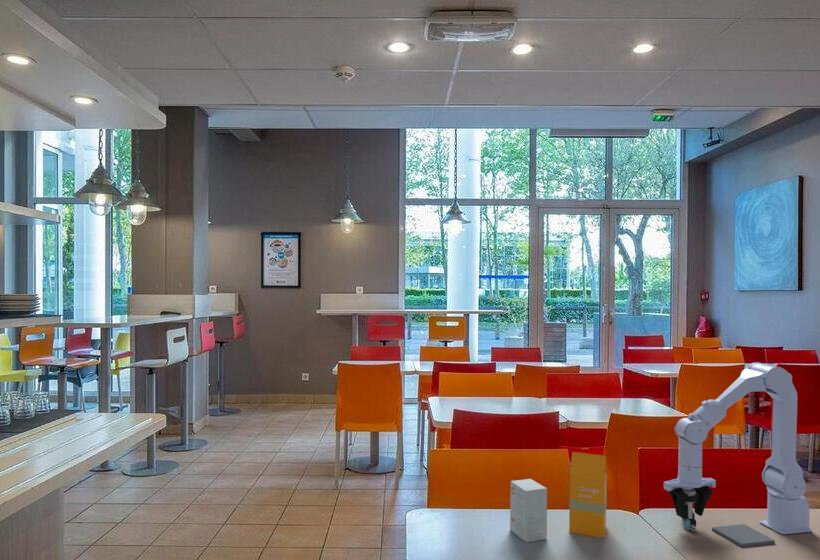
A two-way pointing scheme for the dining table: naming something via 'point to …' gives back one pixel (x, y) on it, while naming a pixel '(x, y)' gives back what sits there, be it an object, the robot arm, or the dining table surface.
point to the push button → (689, 509)
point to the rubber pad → (743, 535)
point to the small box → (528, 510)
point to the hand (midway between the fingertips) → (689, 515)
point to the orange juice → (588, 494)
